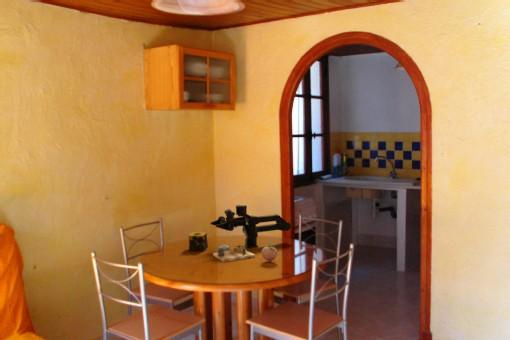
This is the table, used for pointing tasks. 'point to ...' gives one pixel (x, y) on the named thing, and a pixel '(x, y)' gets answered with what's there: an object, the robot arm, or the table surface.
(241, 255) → the gear board
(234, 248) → the gear
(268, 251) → the decorative fruit
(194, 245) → the tissue box
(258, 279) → the table surface
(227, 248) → the gear
